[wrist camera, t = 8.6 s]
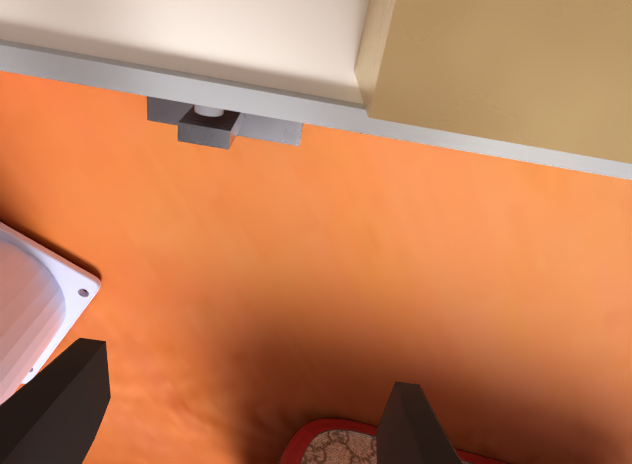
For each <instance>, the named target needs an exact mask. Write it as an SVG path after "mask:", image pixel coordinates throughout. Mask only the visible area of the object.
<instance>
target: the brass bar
mask: <svg viewBox="0 0 632 464" xmlns="http://www.w3.org/2000/svg"><path fill="white" fill-rule="evenodd" d="M354 73H355V77H356V80H357V83H358V86H359V90H360V93H361V96H362V99H363V103H364V106H365V109H366V112H367V116H368V118H373V119H379V120H384V121H390V122H396V123H401V124H407V125H413V126H418V127H424V128H430V129H435V130H441V131H447V132H453V133H458V134H464V135H470V136H475V137H481V138H487V139H492V140H498V141H504V142H509V143H515V144H521V145H526V146H532V147H538V148H544V149H549V150H555V151H561V152H566V153H572V154H578V155H583V156H589V157H595V158H600V159H606V160H612V161H618V162H623V163H629V164H632V0H369V2H368V7H367V12H366V17H365V21H364V26H363V31H362V36H361V41H360V45H359V50H358V55H357V60H356V65H355V69H354Z"/></svg>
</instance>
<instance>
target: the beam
mask: <svg viewBox="0 0 632 464" xmlns="http://www.w3.org/2000/svg"><path fill="white" fill-rule="evenodd" d="M368 2H369V0H0V71H5V72H11V73H17V74H23V75H29V76H34V77H40V78H46V79H52V80H57V81H63V82H69V83H75V84H80V85H86V86H92V87H98V88H104V89H109V90H115V91H121V92H127V93H132V94H138V95H144V96H150V97H156V98H161V99H167V100H173V101H179V102H184V103H190V104H195V106H194V111H195V112H196V113H198V114H200V115H204V116H212V117H216V116H221V115H223V114H224V109H225V110H231V111H236V112H242V113H248V114H254V115H259V116H265V117H271V118H277V119H282V120H288V121H294V122H300V123H306V124H311V125H317V126H323V127H329V128H334V129H340V130H346V131H352V132H358V133H363V134H369V135H375V136H381V137H386V138H392V139H398V140H404V141H409V142H415V143H421V144H427V145H433V146H438V147H444V148H450V149H456V150H461V151H467V152H473V153H479V154H484V155H490V156H496V157H502V158H508V159H513V160H519V161H525V162H531V163H536V164H542V165H548V166H554V167H560V168H565V169H571V170H577V171H583V172H588V173H594V174H600V175H606V176H611V177H617V178H623V179H629V180H632V164H629V163H623V162H618V161H612V160H606V159H600V158H595V157H589V156H583V155H578V154H572V153H566V152H561V151H555V150H549V149H544V148H538V147H532V146H526V145H521V144H515V143H509V142H504V141H498V140H492V139H487V138H481V137H475V136H470V135H464V134H458V133H453V132H447V131H441V130H435V129H430V128H424V127H418V126H413V125H407V124H401V123H396V122H390V121H384V120H379V119H373V118H368V116H367V112H366V109H365V106H364V103H363V99H362V96H361V93H360V90H359V86H358V83H357V80H356V77H355V73H354V69H355V65H356V60H357V55H358V50H359V45H360V41H361V36H362V31H363V26H364V21H365V17H366V12H367V7H368Z"/></svg>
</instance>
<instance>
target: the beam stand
mask: <svg viewBox="0 0 632 464" xmlns="http://www.w3.org/2000/svg"><path fill="white" fill-rule="evenodd" d="M194 106H195V104H190V103H184V102H179V101H173V100H167V99H161V98H156V97H150V96H147V120H150V121H156V122H161V123H167V124H173V125H178V141H182V142H188V143H193V144H199V145H205V146H211V147H217V148H223V149H229V148H230V146H231V144H232V142H233V140H234V138H235V137H236V135H237V136H243V137H249V138H255V139H260V140H266V141H272V142H278V143H284V144H289V145H295V146H299V144H300V138H301V132H302V126H303V123H300V122H294V121H288V120H282V119H277V118H271V117H265V116H259V115H254V114H248V113H242V112H236V111H231V110H225V109H224V114H223V115H221V116H216V117H212V116H204V115H200V114H198V113H196V112H195V111H194Z"/></svg>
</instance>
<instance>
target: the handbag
mask: <svg viewBox="0 0 632 464" xmlns="http://www.w3.org/2000/svg"><path fill="white" fill-rule="evenodd" d="M377 428H378V427H375V426H372V425H368V424H364V423H360V422H355V421H351V420H346V419H334V418H328V419H318V420H315V421H312V422H309V423H307V424H305V425H304V426H303V427H301V428H300V429H299V430H298V431H297V432H296V433H295V434H294V436H293V437H292V438H291V440H290V441H289V442H288V444H287V446H286V448H285V450H284V451H283V453H282V456H281V459H280V462H279V463H278V464H377V452H376V431H377ZM455 451H456V452H457V454H458V456H459V457H460V459H461V461H462V462H463V464H508V463H505V462H501V461H498V460H494V459H490V458H487V457H483V456H480V455H476V454H472V453H469V452H465V451H462V450H458V449H455Z"/></svg>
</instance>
